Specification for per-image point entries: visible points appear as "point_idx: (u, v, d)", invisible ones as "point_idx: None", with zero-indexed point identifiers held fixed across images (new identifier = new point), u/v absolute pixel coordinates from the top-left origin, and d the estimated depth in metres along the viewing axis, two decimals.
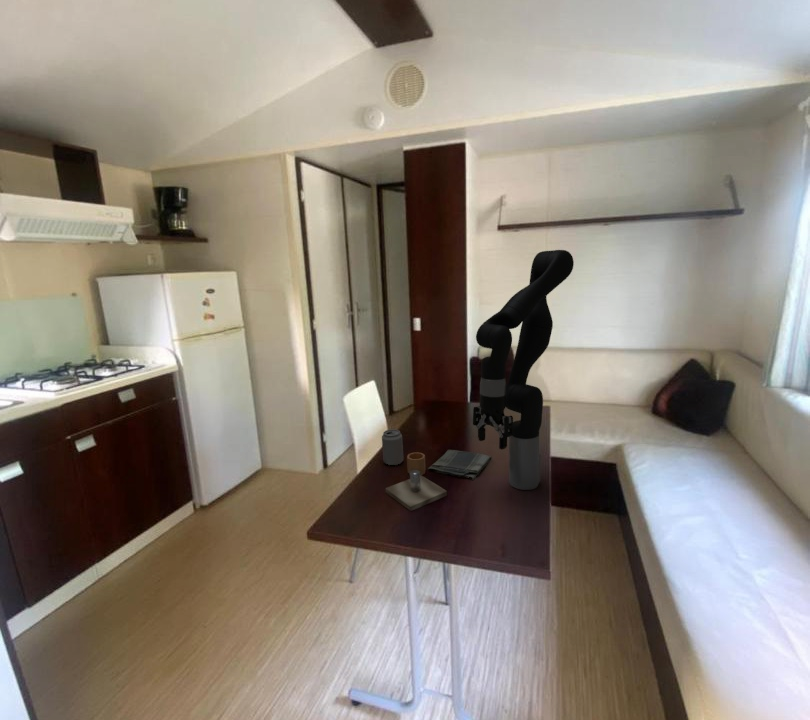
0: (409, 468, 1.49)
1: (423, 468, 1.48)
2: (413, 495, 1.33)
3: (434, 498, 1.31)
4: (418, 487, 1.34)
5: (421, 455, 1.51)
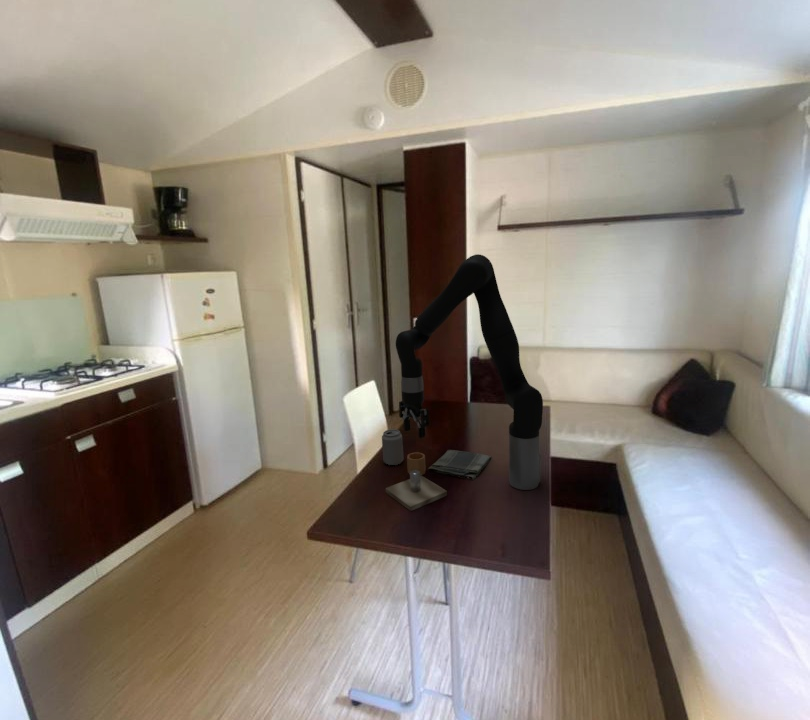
0: (409, 468, 1.49)
1: (423, 468, 1.48)
2: (413, 495, 1.33)
3: (434, 498, 1.31)
4: (418, 487, 1.34)
5: (421, 455, 1.51)
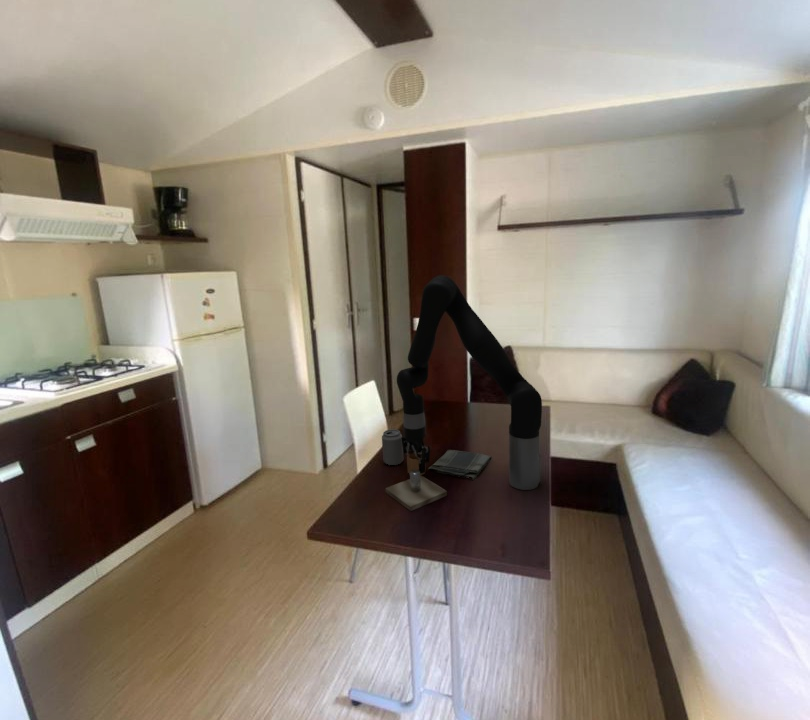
0: (409, 468, 1.49)
1: None
2: (413, 495, 1.33)
3: (434, 498, 1.31)
4: (418, 487, 1.34)
5: None
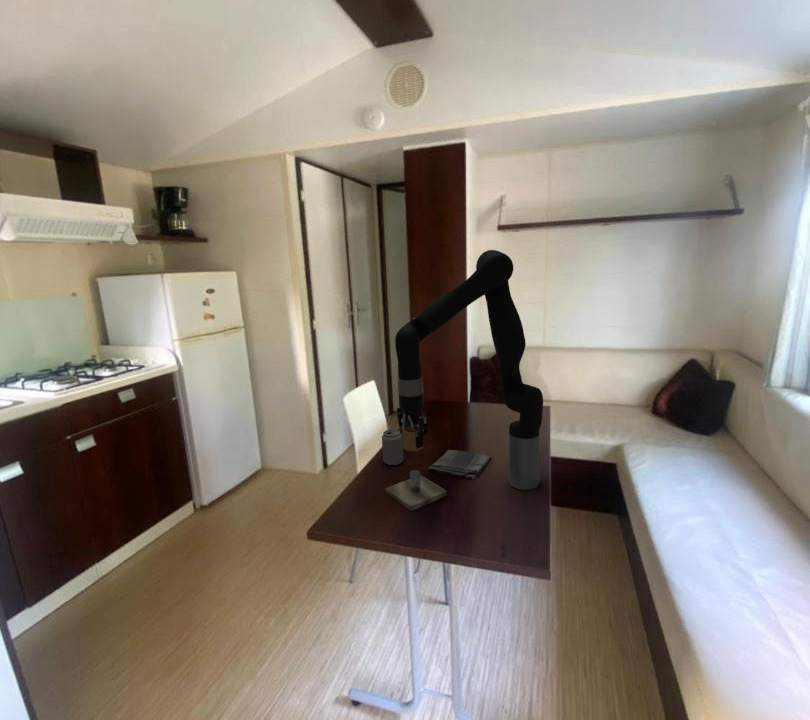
0: (405, 442, 1.31)
1: None
2: (413, 495, 1.33)
3: (434, 498, 1.31)
4: (418, 487, 1.34)
5: (418, 428, 1.33)
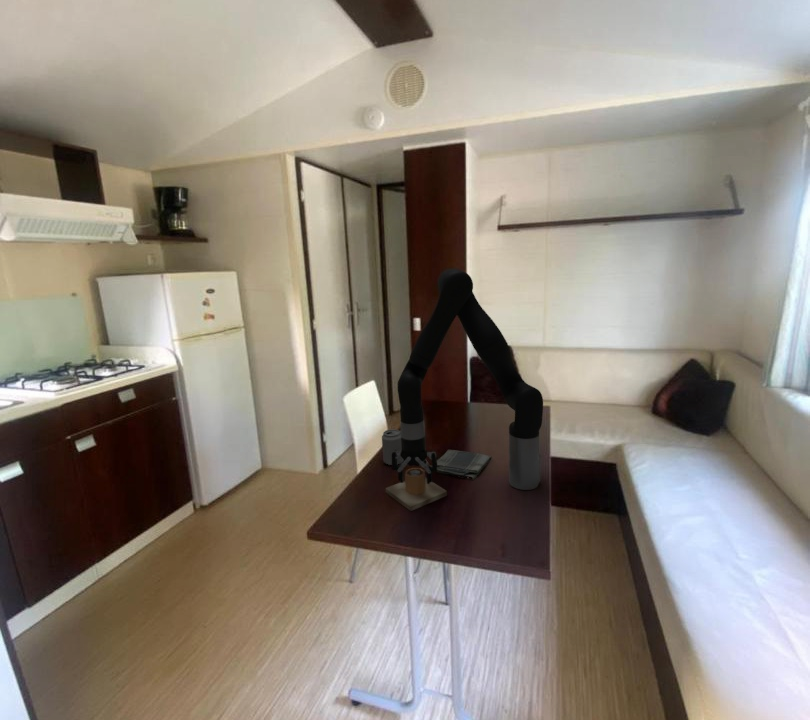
0: (414, 487, 1.32)
1: (425, 482, 1.36)
2: (413, 495, 1.33)
3: (434, 498, 1.31)
4: None
5: None
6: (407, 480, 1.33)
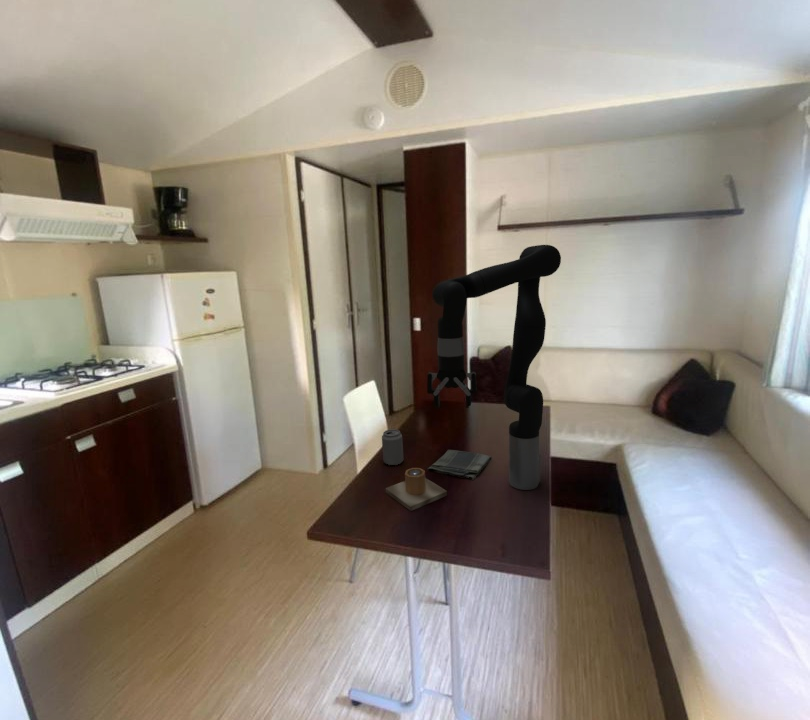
0: (414, 487, 1.32)
1: (425, 482, 1.36)
2: (413, 495, 1.33)
3: (434, 498, 1.31)
4: None
5: None
6: (407, 480, 1.33)
